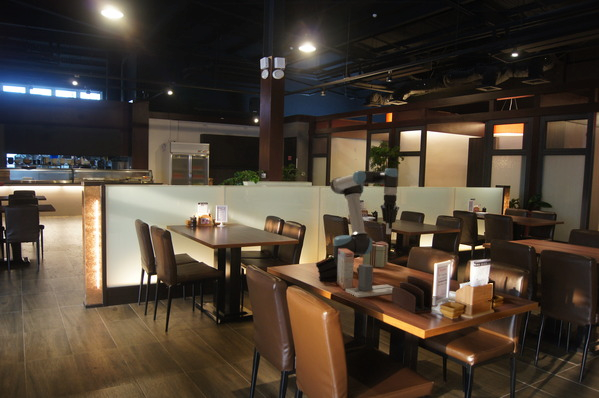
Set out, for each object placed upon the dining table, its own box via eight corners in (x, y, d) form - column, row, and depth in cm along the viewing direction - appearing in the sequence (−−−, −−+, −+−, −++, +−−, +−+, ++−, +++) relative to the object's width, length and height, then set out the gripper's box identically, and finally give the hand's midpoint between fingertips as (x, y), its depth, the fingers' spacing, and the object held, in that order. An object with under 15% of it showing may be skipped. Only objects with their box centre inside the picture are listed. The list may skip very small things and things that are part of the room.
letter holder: (407, 300, 224) (408, 273, 223) (432, 312, 205) (433, 283, 205) (391, 301, 221) (392, 274, 220) (414, 314, 202) (415, 284, 201)
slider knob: (366, 287, 239) (367, 263, 238) (372, 290, 234) (373, 266, 233) (357, 288, 236) (358, 264, 236) (363, 291, 231) (364, 267, 230)
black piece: (343, 278, 258) (333, 256, 257) (323, 288, 257) (313, 266, 255) (341, 277, 262) (332, 255, 260) (322, 286, 261) (312, 264, 259)
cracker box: (353, 289, 241) (354, 252, 240) (342, 290, 240) (344, 252, 239) (346, 283, 255) (347, 248, 253) (336, 283, 254) (337, 248, 252)
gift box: (388, 263, 316) (389, 239, 315) (384, 268, 299) (385, 243, 298) (365, 261, 322) (366, 238, 321) (359, 265, 305) (360, 241, 304)
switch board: (386, 286, 249) (387, 284, 249) (400, 292, 238) (400, 289, 238) (345, 291, 237) (345, 288, 237) (357, 297, 226) (357, 294, 226)
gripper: (377, 193, 260) (376, 232, 261) (394, 195, 249) (392, 235, 251) (386, 193, 264) (384, 232, 266) (403, 195, 254) (401, 235, 255)
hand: (388, 233), depth 258 cm, fingers closed
